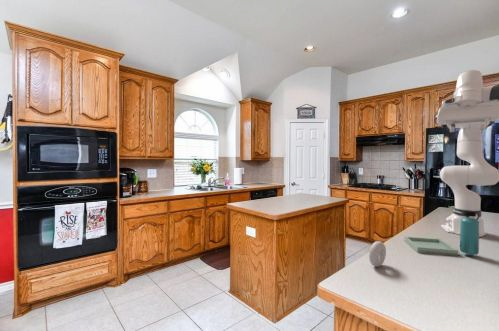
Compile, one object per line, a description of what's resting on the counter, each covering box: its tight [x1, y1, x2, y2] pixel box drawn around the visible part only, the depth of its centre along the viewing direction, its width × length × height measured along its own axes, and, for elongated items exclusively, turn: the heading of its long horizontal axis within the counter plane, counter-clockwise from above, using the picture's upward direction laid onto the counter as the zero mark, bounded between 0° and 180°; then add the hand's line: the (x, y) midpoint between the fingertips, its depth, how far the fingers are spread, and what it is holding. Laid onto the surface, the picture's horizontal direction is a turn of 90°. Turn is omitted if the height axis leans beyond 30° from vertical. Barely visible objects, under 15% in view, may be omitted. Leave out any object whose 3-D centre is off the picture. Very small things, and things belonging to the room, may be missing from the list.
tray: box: [403, 236, 459, 257], centre depth 119 cm, size 16×16×2 cm
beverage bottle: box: [459, 210, 480, 256], centre depth 110 cm, size 6×7×20 cm
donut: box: [368, 240, 387, 268], centre depth 99 cm, size 10×4×10 cm, turn 130°
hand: (467, 130), depth 100 cm, fingers open, 8 cm apart
